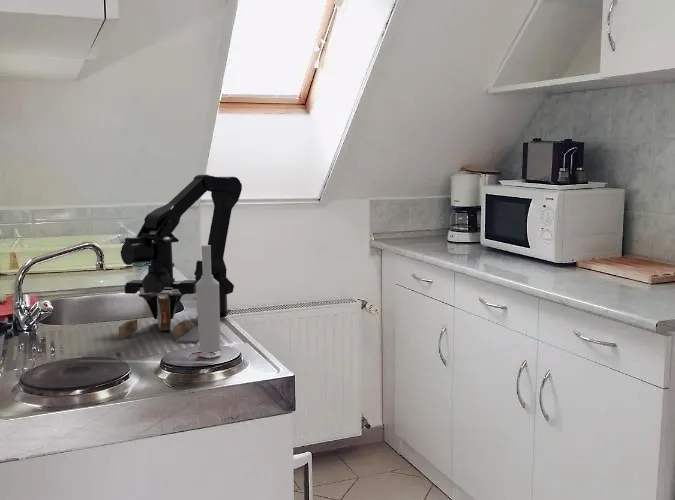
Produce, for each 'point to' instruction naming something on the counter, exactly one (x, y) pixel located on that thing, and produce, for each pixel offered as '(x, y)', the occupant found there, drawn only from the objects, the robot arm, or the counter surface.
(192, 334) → the grey plank
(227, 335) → the counter surface
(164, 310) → the tin
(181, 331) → the tan wooden plank
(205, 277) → the bottle
